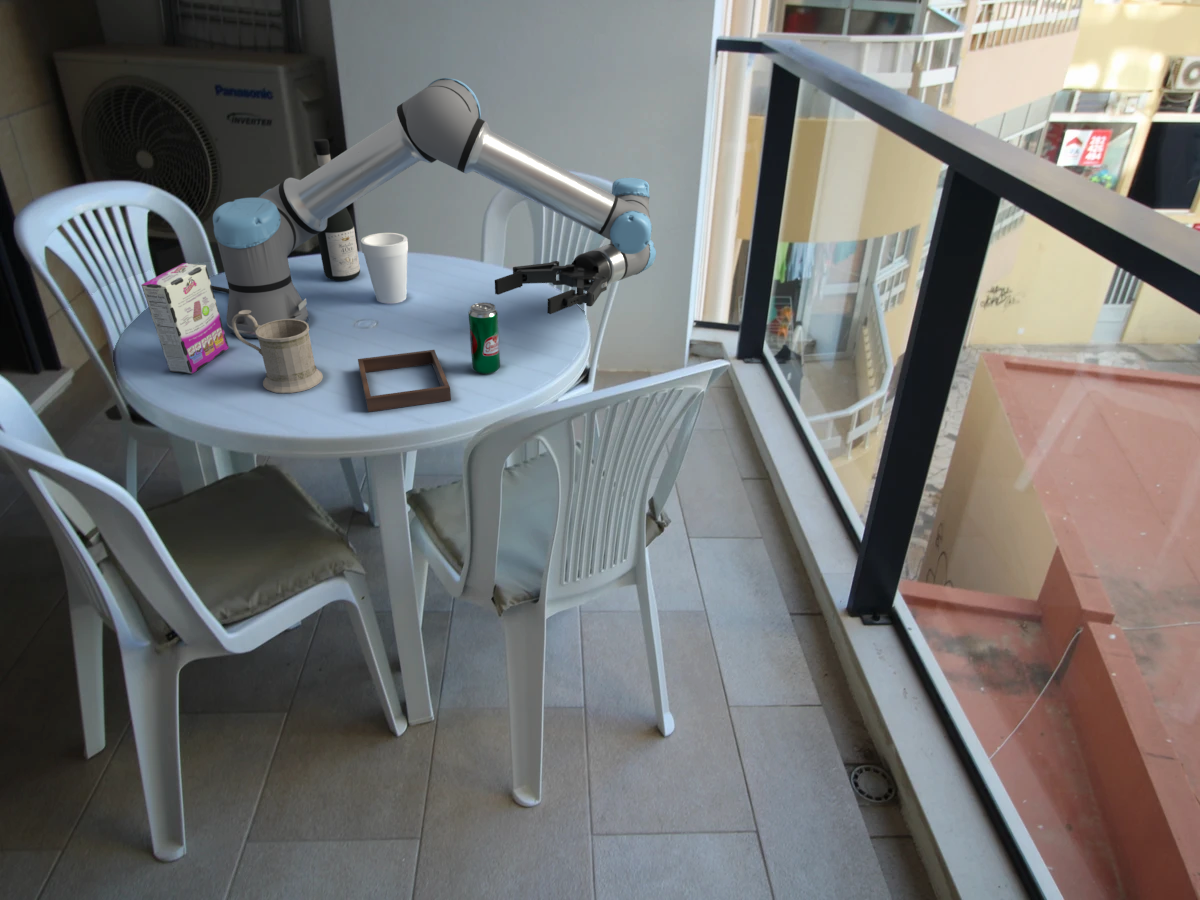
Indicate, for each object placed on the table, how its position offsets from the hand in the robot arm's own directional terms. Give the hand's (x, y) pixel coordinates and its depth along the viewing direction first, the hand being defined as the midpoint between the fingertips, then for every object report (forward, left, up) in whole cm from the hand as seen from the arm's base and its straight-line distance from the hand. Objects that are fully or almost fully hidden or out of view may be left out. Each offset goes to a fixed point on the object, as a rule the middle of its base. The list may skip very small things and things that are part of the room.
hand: (521, 296), depth 141 cm
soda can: (+5, -8, -11) cm, 15 cm away
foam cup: (-35, -20, -11) cm, 42 cm away
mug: (-2, -43, -11) cm, 45 cm away
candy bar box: (-14, -57, -11) cm, 60 cm away
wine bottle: (-52, -29, -11) cm, 61 cm away
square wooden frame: (+7, -23, -11) cm, 27 cm away
